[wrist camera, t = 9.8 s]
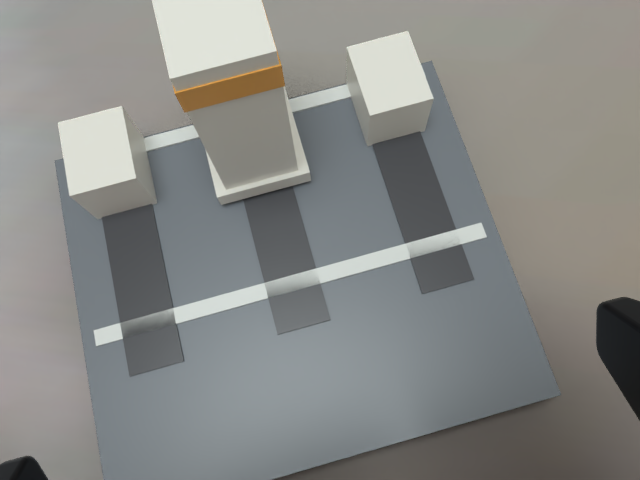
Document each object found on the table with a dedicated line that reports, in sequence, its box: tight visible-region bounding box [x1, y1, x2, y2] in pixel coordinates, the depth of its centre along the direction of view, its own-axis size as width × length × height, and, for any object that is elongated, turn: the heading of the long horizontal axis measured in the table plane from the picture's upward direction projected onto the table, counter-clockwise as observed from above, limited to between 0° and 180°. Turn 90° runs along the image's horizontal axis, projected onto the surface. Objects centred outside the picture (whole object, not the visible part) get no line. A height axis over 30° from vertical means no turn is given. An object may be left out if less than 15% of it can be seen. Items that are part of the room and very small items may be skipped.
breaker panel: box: [55, 31, 561, 480], centre depth 22 cm, size 14×16×4 cm
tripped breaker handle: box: [152, 0, 311, 205], centre depth 20 cm, size 4×4×8 cm
